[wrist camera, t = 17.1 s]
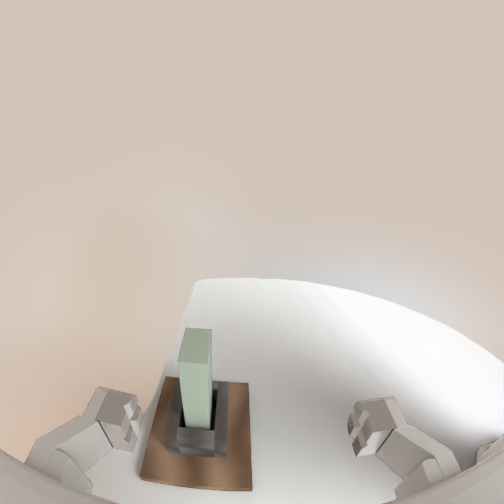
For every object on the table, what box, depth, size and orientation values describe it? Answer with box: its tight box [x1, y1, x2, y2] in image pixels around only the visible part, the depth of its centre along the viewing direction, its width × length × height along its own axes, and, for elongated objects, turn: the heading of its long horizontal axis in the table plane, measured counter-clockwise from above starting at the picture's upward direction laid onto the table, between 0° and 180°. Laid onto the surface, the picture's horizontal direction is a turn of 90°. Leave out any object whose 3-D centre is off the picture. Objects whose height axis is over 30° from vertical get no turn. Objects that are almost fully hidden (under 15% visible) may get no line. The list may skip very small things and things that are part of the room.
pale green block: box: [177, 328, 213, 430], centre depth 32 cm, size 3×6×16 cm, turn 3°
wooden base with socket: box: [140, 377, 252, 491], centre depth 34 cm, size 14×20×6 cm
